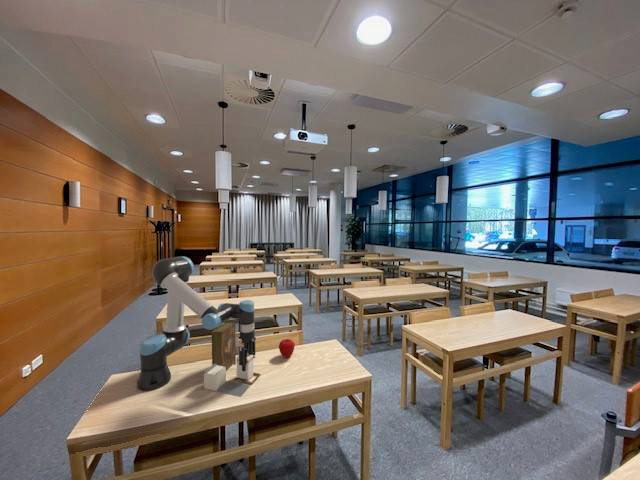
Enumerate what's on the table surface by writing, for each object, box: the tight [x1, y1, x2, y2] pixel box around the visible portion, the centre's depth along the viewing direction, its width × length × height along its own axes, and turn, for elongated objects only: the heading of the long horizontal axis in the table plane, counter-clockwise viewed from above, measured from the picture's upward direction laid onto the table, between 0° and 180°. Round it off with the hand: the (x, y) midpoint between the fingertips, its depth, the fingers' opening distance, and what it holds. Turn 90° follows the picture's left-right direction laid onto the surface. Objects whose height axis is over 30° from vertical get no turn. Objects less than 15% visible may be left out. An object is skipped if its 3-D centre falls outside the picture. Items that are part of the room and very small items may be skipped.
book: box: [211, 320, 237, 372], centre depth 151 cm, size 16×6×25 cm, turn 168°
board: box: [201, 380, 251, 398], centre depth 133 cm, size 22×9×1 cm, turn 74°
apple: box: [278, 338, 296, 358], centre depth 167 cm, size 10×10×11 cm
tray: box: [233, 372, 261, 385], centre depth 141 cm, size 11×9×2 cm
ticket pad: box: [203, 364, 227, 392], centre depth 135 cm, size 7×8×9 cm
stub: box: [236, 354, 254, 381], centre depth 141 cm, size 7×5×11 cm
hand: (247, 373), depth 141 cm, fingers closed on stub, 5 cm apart
